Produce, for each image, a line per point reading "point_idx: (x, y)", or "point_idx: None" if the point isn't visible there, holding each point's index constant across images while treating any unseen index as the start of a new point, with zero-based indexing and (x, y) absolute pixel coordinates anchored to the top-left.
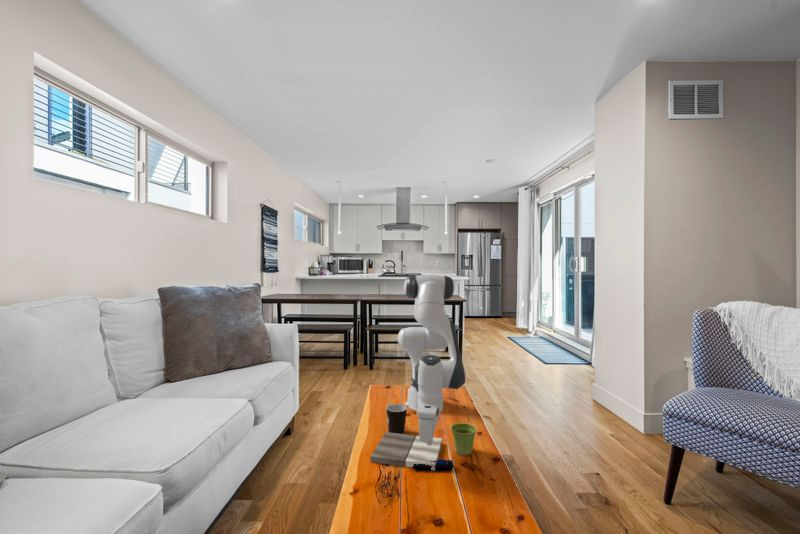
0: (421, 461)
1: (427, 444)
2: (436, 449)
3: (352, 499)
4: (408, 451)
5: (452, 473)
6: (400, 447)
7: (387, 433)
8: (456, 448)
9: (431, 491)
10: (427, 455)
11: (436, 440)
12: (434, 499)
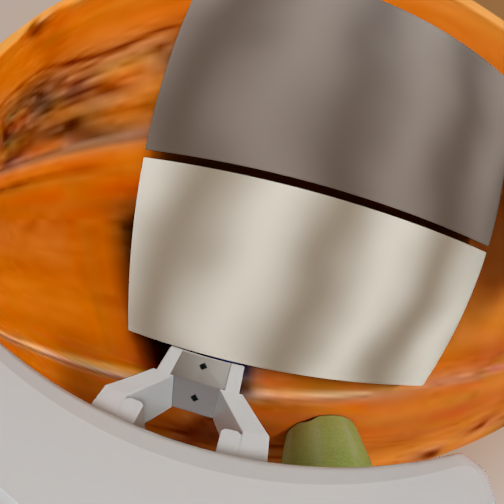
0: (141, 261)
1: (169, 351)
2: (304, 363)
3: (13, 43)
4: (281, 174)
5: (137, 373)
6: (342, 116)
7: (498, 81)
8: (307, 433)
9: (28, 273)
10: (221, 306)
11: (411, 363)
12: (8, 276)
